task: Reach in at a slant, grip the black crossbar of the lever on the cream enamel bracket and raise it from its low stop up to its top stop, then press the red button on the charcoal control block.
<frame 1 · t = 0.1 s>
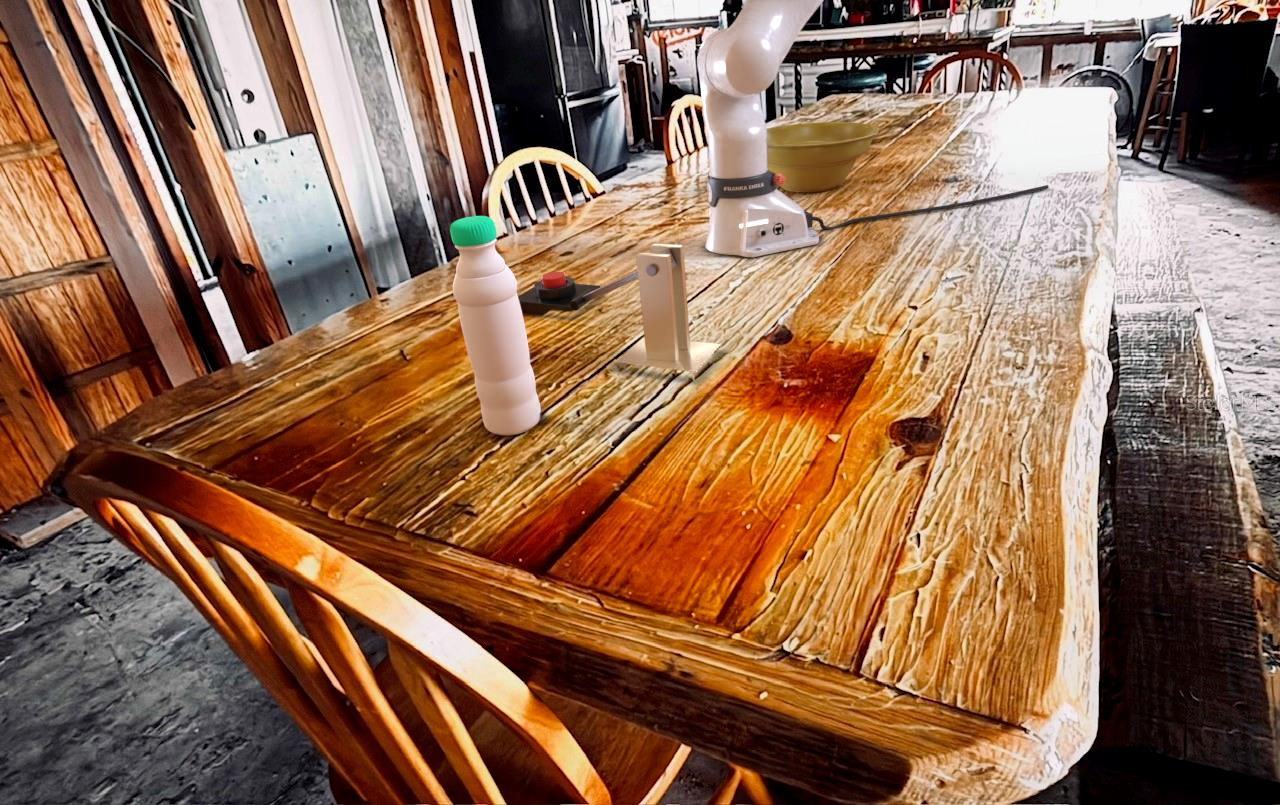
lever: (622, 281, 95), point 11 cm above the table, hinge at -25.0°
planter bowl: (810, 187, 182), on the table
bracket: (669, 361, 98), on the table
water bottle: (514, 424, 86), on the table
control block: (558, 305, 122), on the table
button: (553, 280, 120), point 4 cm above the table, slide at 0.1 cm
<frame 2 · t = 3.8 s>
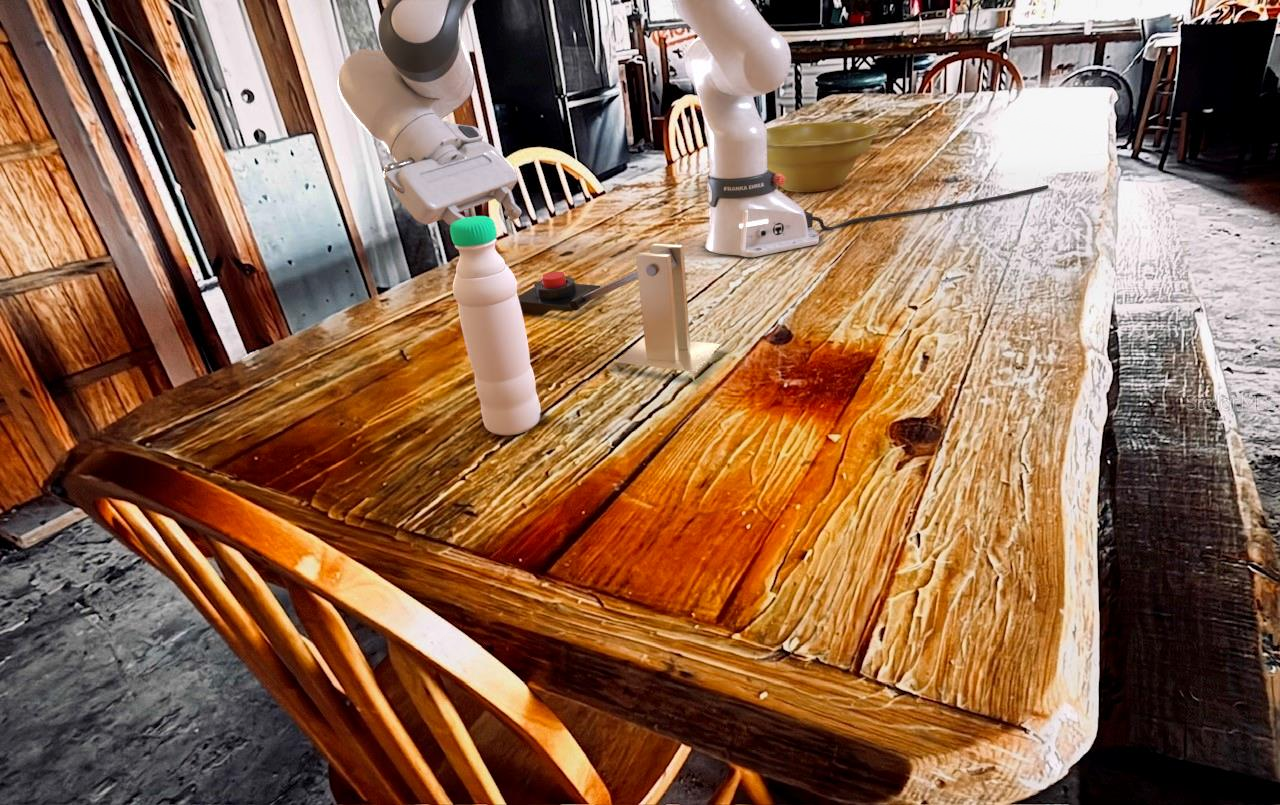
hand: (497, 225, 100), 18 cm above the table, tool tilted 45°, fingers open, 8 cm apart
nothing on the table moved.
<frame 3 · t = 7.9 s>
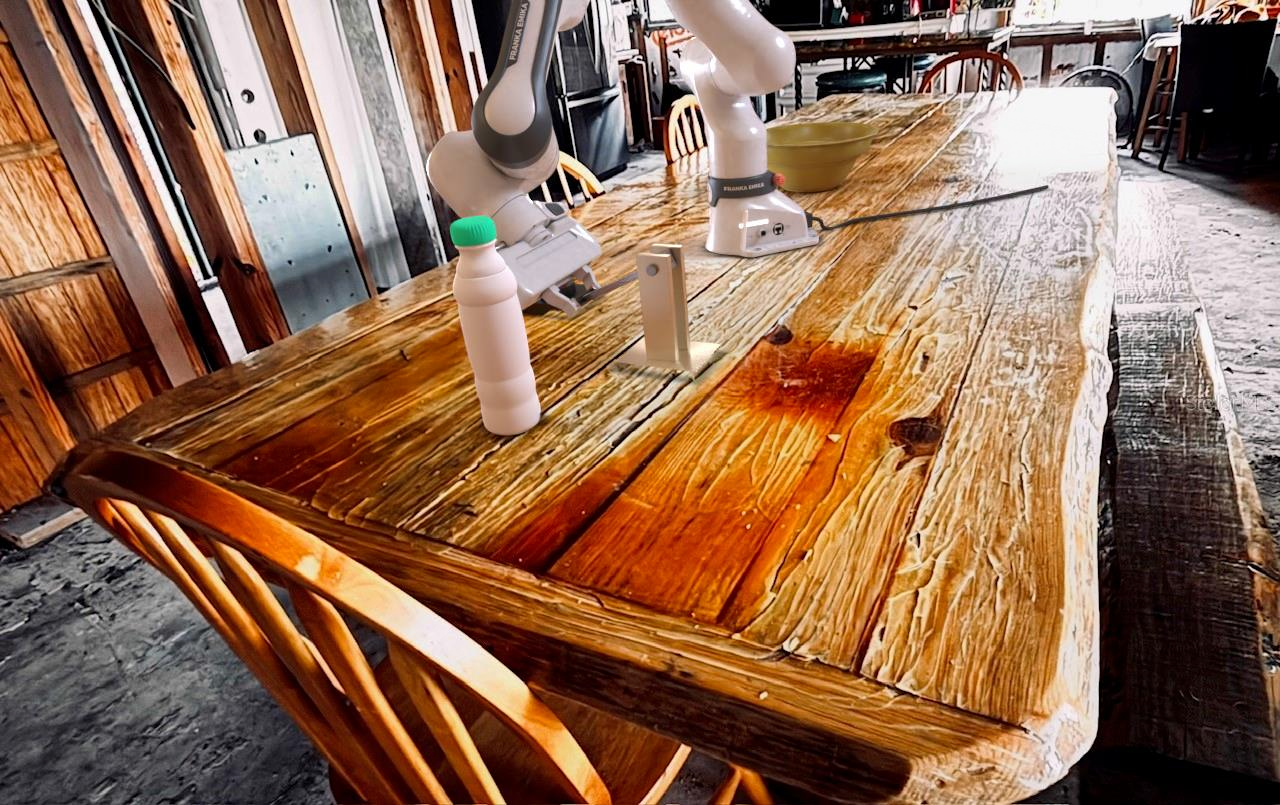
hand: (588, 304, 99), 7 cm above the table, tool tilted 45°, fingers closed on lever, 5 cm apart
lever: (622, 281, 95), point 11 cm above the table, hinge at -25.0°, touching gripper
everything else where it was.
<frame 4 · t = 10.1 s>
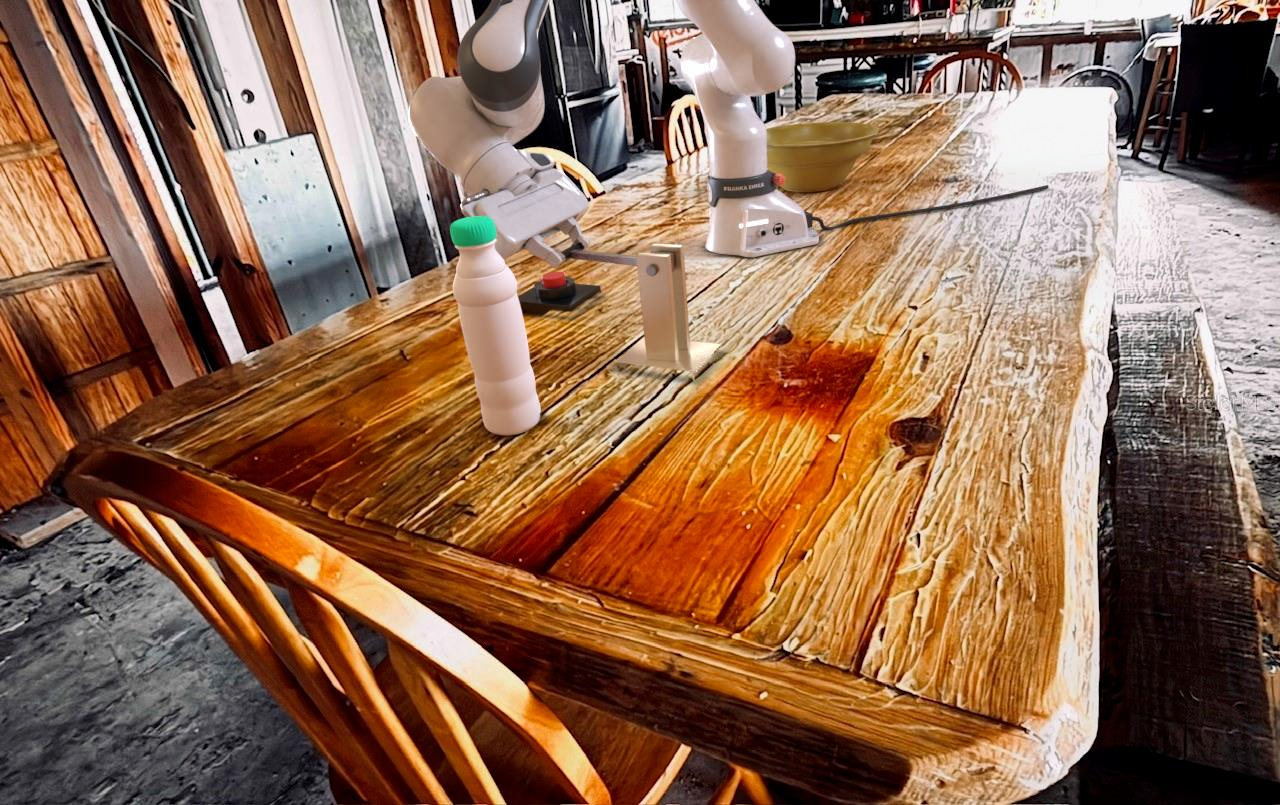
hand: (573, 256, 97), 14 cm above the table, tool tilted 45°, fingers closed on lever, 5 cm apart
lever: (615, 258, 94), point 14 cm above the table, hinge at 2.7°, touching gripper
everything else where it was.
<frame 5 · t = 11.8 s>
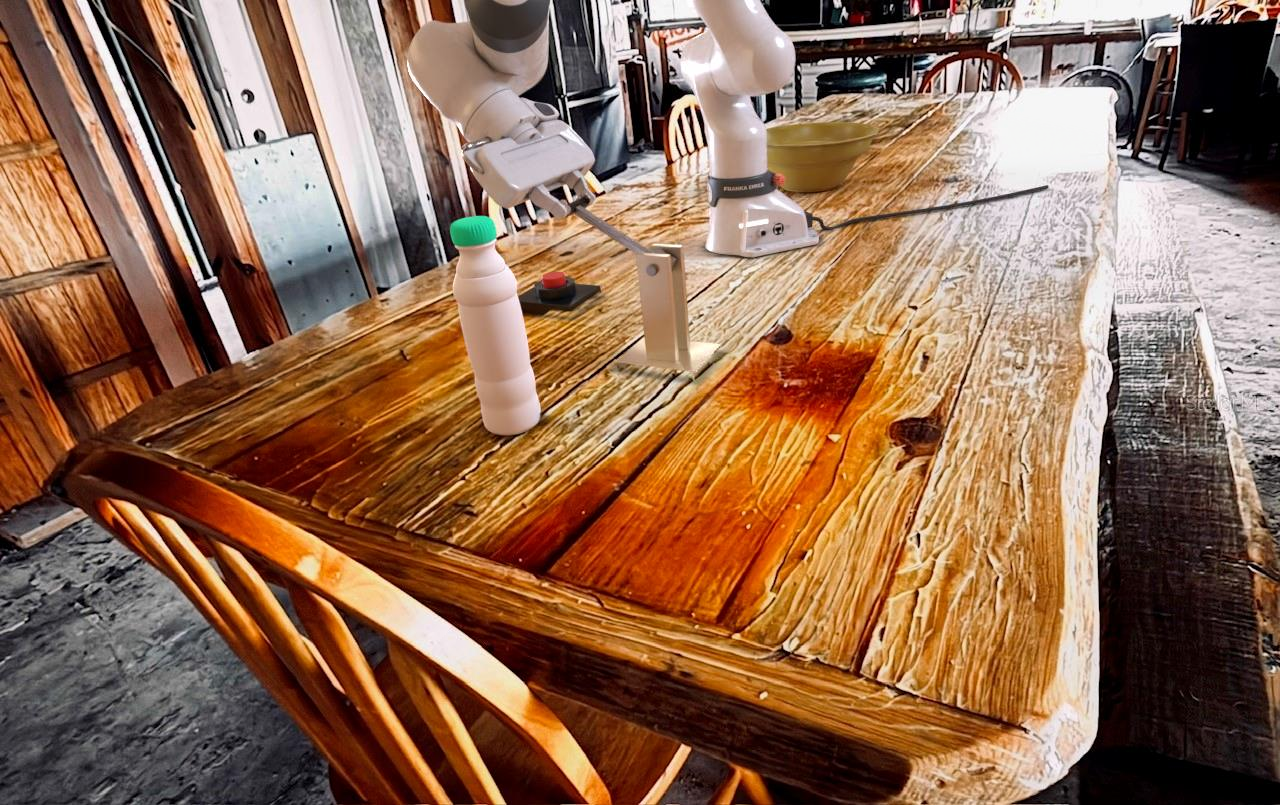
hand: (579, 209, 93), 21 cm above the table, tool tilted 45°, fingers closed on lever, 5 cm apart
lever: (619, 236, 92), point 17 cm above the table, hinge at 29.9°, touching gripper
everything else where it was.
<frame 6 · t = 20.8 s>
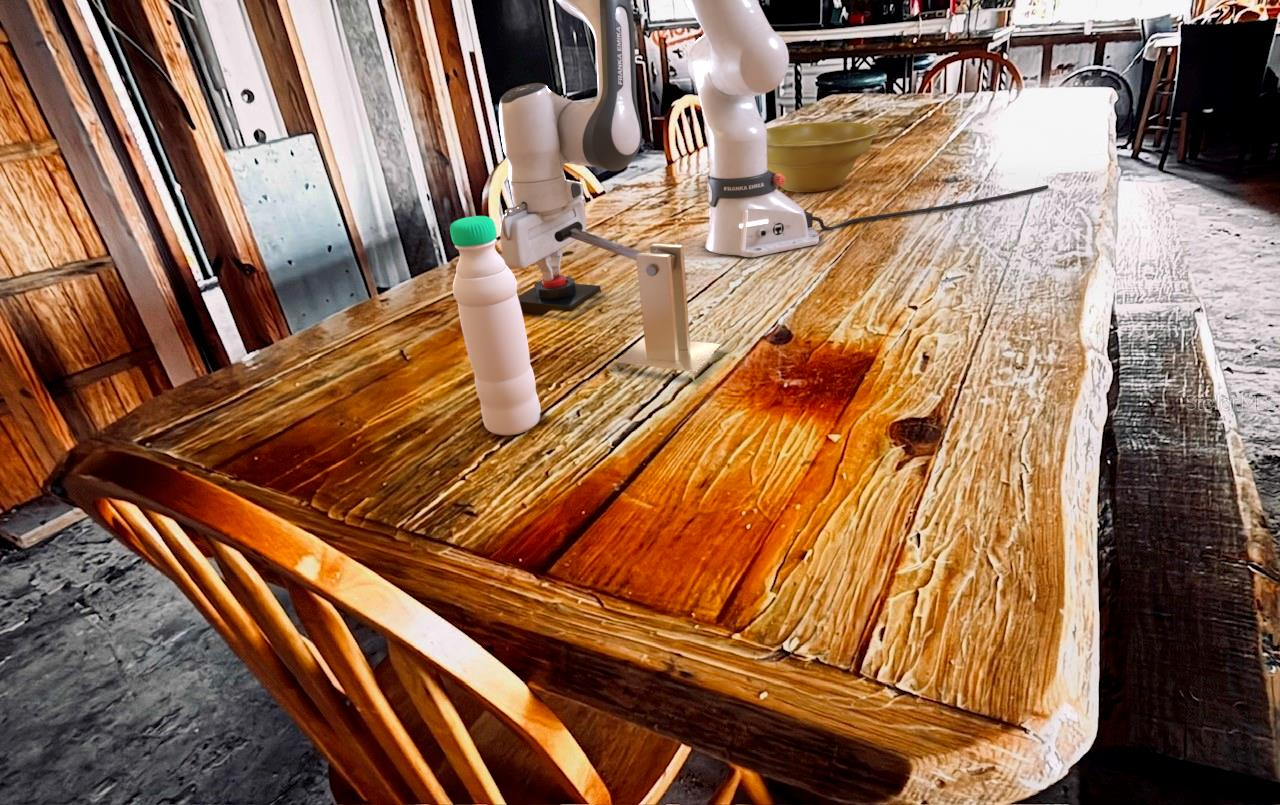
hand: (552, 278, 120), 5 cm above the table, tool pointing down, fingers closed, pressing on button
lever: (616, 248, 93), point 16 cm above the table, hinge at 15.5°
button: (554, 283, 120), point 4 cm above the table, slide at -0.4 cm, touching gripper
everything else where it was.
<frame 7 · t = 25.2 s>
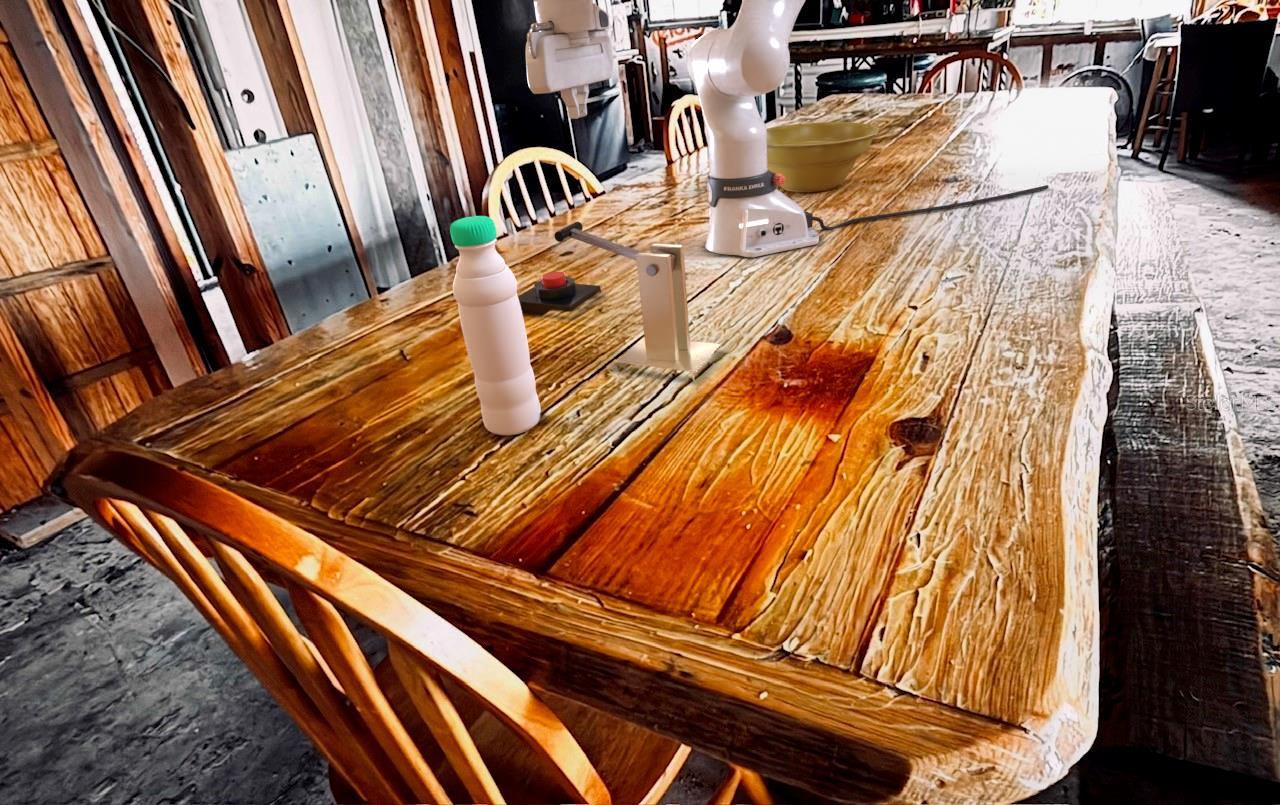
hand: (578, 117, 113), 29 cm above the table, tool pointing down, fingers closed
button: (553, 280, 120), point 4 cm above the table, slide at 0.1 cm
everything else where it was.
at the end: lever at +16° (first picture: -25°); button pushed in 1.0 cm at the most during the clip, back to where it started at the end; button slide at 0.1 cm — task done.
